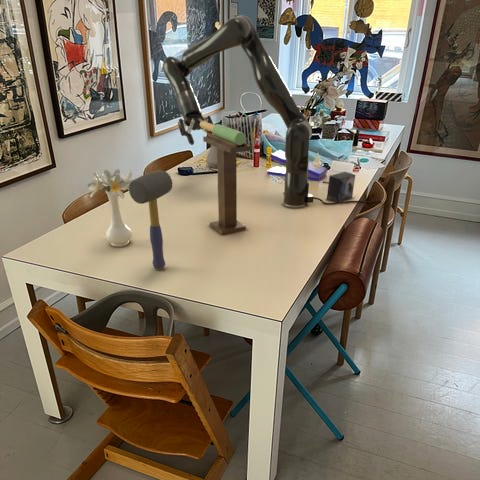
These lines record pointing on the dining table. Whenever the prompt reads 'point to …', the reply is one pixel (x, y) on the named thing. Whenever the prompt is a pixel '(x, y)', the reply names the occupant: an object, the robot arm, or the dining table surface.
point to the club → (224, 132)
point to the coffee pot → (212, 157)
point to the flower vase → (114, 204)
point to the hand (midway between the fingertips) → (202, 142)
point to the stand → (226, 184)
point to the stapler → (280, 158)
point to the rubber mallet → (152, 207)
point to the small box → (340, 186)
